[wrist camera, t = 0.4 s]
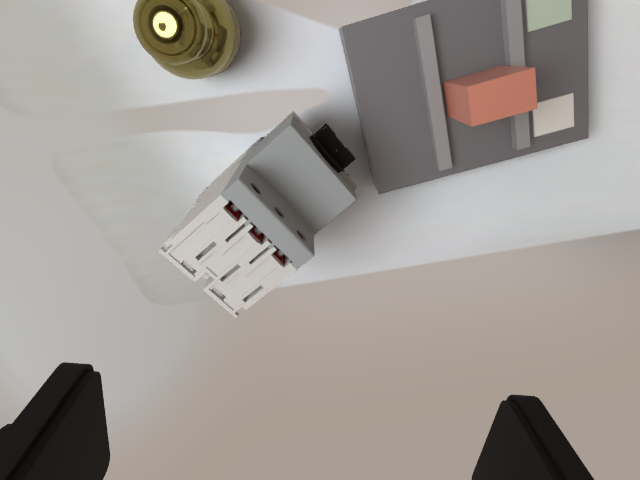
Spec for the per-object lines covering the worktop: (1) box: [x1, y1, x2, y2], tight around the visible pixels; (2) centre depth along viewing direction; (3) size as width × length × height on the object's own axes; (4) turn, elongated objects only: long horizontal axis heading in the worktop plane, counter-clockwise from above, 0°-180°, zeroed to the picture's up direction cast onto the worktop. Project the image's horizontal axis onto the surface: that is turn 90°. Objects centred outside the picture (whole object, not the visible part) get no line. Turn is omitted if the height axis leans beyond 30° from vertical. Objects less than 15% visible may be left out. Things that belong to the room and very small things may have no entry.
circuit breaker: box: [159, 112, 357, 318], centre depth 35 cm, size 8×14×15 cm, turn 131°
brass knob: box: [133, 0, 241, 79], centre depth 32 cm, size 7×7×10 cm
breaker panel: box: [339, 0, 588, 194], centre depth 38 cm, size 15×20×4 cm
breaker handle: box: [443, 66, 537, 127], centre depth 34 cm, size 3×5×6 cm, turn 105°
